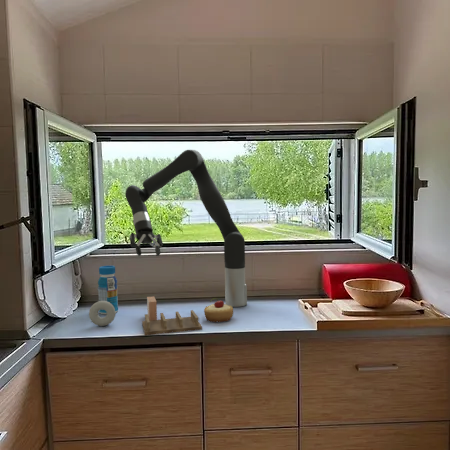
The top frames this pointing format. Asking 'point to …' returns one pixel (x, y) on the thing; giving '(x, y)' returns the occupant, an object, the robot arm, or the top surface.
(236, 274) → the robot arm
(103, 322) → the donut
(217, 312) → the pastry
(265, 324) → the top surface
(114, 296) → the beverage bottle
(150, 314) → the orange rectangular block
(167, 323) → the dish stand
